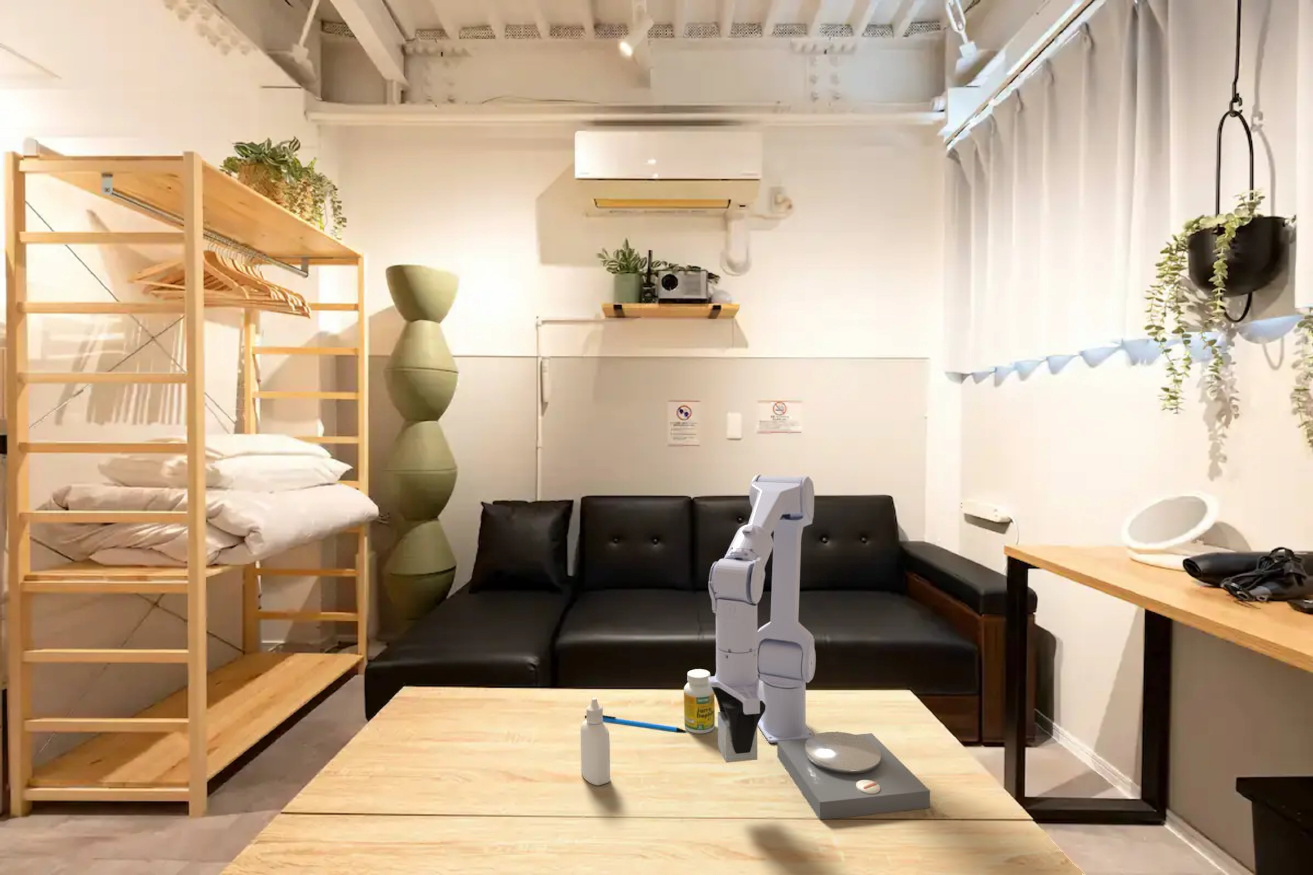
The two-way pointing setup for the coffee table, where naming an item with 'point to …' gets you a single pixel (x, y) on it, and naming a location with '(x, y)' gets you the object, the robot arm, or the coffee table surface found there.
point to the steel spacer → (726, 742)
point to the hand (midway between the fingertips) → (737, 742)
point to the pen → (640, 724)
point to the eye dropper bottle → (595, 746)
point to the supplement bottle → (699, 702)
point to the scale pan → (843, 752)
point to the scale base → (854, 784)
